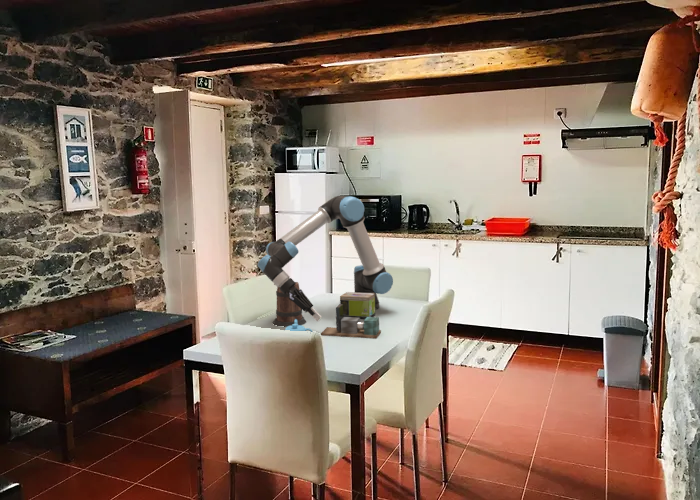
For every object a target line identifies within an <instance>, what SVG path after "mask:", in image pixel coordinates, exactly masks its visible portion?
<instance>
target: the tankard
mask: <svg viewBox="0 0 700 500" xmlns="http://www.w3.org/2000/svg"><path fill="white" fill-rule="evenodd" d="M294 282H295V283H296V284H295V285H294V286H295V287H296V288H297V289H298V290H300V289H301V288H300V284H299V283H300V282H298V281H294ZM276 287H277V286H276ZM279 288H280V287H279ZM279 288H278V287H277V288H276V291H275V294H276V310H275V315H276V317H275V319H273V320H274V321H273V322H272V323H273V324H274V325H273V324H272V325H273V326H275V325H277V326H276V327H278V326H284V327H283V328H286V327H287V326H292V324H294V320H295V319H297V323H298V325H302V326H304V325H305V324H307V320H306V319H305V317H304V316H303V310H302V309H301V308H300V307H299V306H297V305H296V304H295V303H294V302H293V301H291V300H290V299H289V297H290V296H289V295H288V293H286V294H283V292H282V291H281V290H280V289H279Z"/></svg>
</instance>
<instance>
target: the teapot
mask: <svg viewBox="0 0 700 500" xmlns="http://www.w3.org/2000/svg"><path fill="white" fill-rule="evenodd" d="M285 330H290V331H310V333H311V332H313V329H311V328H309V327H305V326H304V325H298V323H297V319H295V320H294V324H292V326H287V327H285V329H284V331H285ZM313 333H314V332H313Z"/></svg>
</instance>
